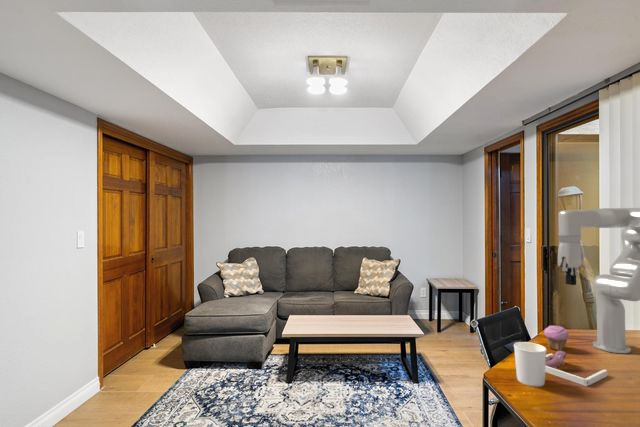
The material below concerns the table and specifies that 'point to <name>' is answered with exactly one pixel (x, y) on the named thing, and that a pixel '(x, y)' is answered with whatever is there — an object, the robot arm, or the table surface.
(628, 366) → the table surface
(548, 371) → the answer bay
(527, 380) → the candle holder
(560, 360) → the video game controller
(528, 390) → the table surface
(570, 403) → the table surface
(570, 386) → the table surface
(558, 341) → the cupcake
